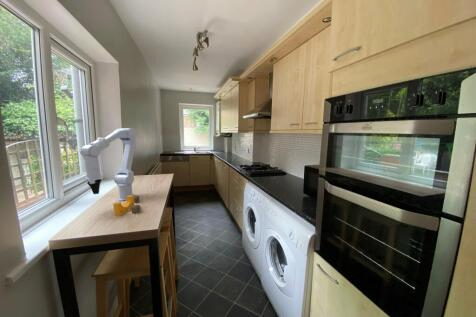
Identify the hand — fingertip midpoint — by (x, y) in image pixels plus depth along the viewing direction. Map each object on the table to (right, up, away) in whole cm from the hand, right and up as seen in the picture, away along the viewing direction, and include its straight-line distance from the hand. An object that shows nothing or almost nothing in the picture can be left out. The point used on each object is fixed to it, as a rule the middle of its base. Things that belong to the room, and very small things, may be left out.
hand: (96, 193), depth 100 cm
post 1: (+14, -7, +13) cm, 20 cm away
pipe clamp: (+14, -10, +1) cm, 17 cm away
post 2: (+21, -9, -1) cm, 23 cm away
